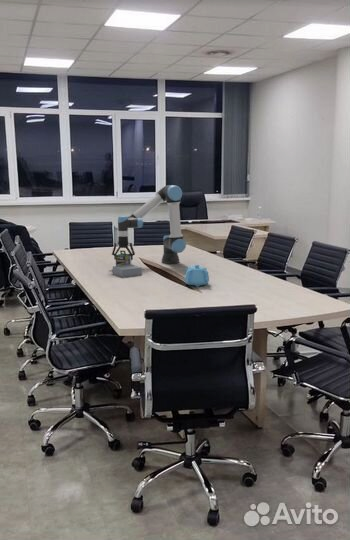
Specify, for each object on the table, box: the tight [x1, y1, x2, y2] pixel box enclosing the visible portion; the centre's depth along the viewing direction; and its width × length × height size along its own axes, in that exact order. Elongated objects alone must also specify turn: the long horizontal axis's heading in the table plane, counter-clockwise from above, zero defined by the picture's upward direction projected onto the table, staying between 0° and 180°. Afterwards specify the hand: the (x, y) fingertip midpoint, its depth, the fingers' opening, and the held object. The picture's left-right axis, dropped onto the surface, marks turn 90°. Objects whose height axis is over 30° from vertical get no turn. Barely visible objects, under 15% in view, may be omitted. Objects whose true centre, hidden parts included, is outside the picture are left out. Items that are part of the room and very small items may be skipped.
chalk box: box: [115, 249, 131, 266], centre depth 386 cm, size 9×9×15 cm
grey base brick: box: [112, 263, 143, 278], centre depth 365 cm, size 16×16×6 cm
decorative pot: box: [184, 264, 210, 288], centre depth 330 cm, size 16×16×14 cm
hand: (123, 263), depth 387 cm, fingers closed on chalk box, 11 cm apart
